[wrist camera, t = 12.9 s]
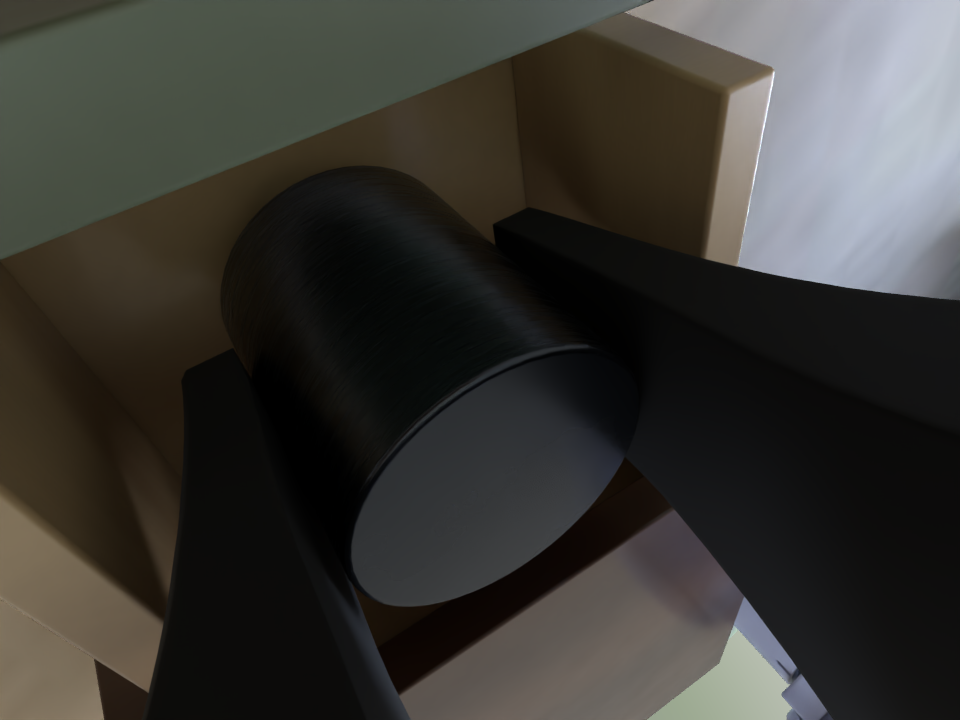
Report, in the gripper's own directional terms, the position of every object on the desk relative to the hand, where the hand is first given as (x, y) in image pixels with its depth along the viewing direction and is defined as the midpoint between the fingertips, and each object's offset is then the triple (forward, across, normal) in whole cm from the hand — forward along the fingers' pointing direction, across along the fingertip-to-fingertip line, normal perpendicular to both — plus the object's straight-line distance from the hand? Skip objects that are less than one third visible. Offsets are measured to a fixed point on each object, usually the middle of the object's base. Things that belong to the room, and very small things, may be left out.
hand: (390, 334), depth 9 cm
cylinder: (+1, 0, 0) cm, 1 cm away
